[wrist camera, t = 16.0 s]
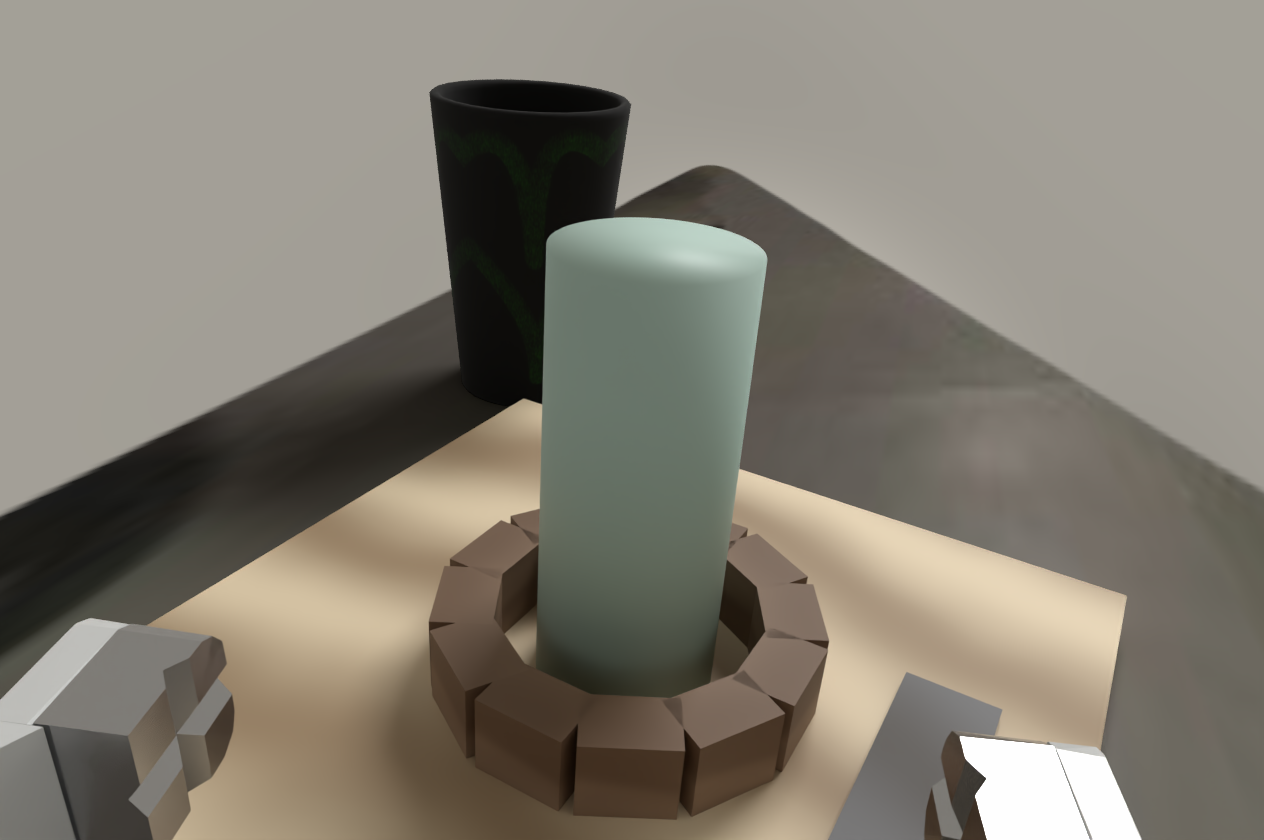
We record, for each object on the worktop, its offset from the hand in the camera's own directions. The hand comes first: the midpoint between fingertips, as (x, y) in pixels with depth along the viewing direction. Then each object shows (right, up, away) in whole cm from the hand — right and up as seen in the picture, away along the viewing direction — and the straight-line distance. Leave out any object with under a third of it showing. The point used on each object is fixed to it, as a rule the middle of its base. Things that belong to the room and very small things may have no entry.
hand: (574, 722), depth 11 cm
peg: (0, -3, +14) cm, 14 cm away
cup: (-4, +5, +32) cm, 32 cm away
